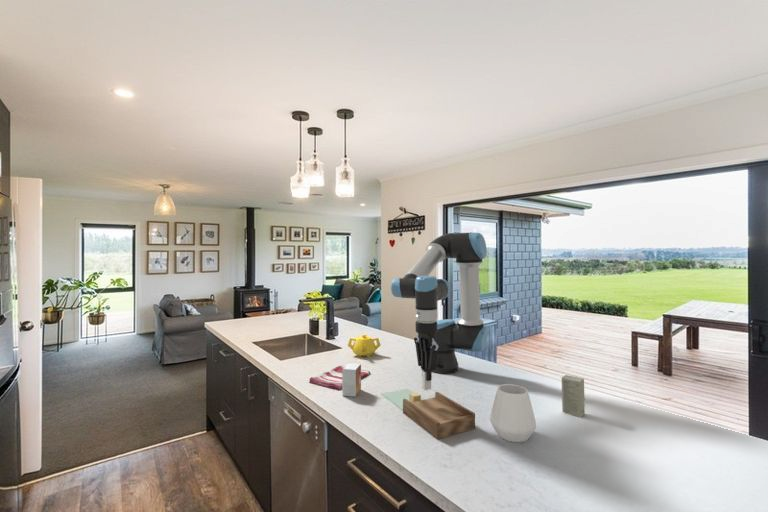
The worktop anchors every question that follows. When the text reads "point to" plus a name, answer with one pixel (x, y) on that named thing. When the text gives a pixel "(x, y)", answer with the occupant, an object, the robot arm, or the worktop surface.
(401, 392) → the cover plate
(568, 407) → the skincare box
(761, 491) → the worktop surface
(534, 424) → the white ceramic vase
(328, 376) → the dish towel
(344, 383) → the small box
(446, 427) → the wooden tray
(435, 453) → the worktop surface
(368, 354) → the yellow sugar bowl
